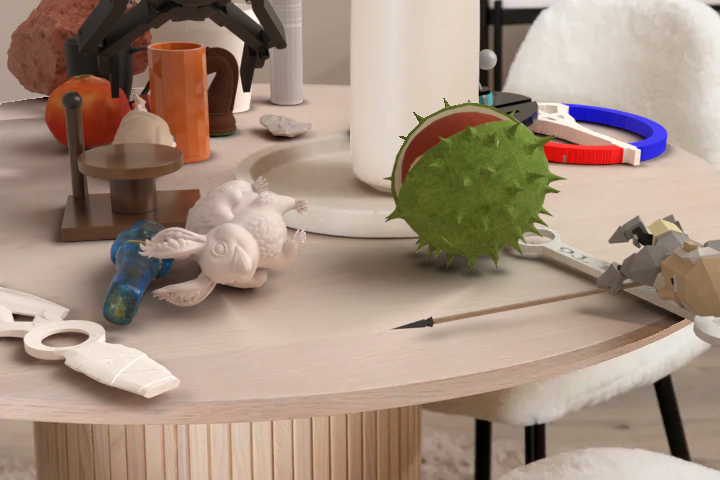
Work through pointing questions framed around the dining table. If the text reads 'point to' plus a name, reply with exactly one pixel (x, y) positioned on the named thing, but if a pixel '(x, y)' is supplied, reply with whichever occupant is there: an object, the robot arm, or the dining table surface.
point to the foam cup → (222, 38)
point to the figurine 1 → (132, 272)
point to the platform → (511, 104)
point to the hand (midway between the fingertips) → (180, 84)
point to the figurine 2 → (229, 240)
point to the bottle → (287, 55)
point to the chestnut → (471, 181)
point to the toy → (645, 271)
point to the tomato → (88, 110)
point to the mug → (89, 66)
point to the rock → (55, 44)
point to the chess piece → (221, 90)
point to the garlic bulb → (143, 127)
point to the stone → (283, 125)
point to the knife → (81, 346)
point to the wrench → (704, 327)
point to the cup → (181, 95)
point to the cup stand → (119, 184)
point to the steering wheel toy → (596, 135)
